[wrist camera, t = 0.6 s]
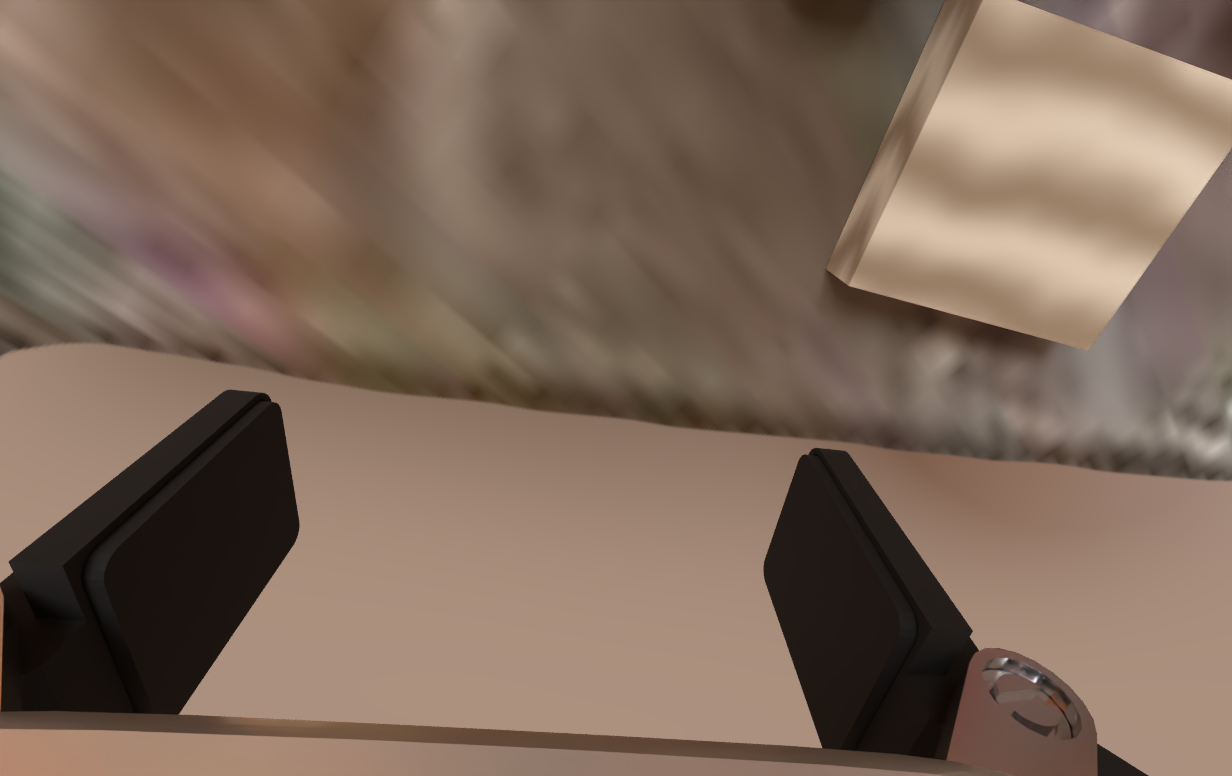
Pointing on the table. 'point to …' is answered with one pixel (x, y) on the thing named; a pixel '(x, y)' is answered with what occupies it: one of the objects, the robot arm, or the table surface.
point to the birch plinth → (1032, 171)
